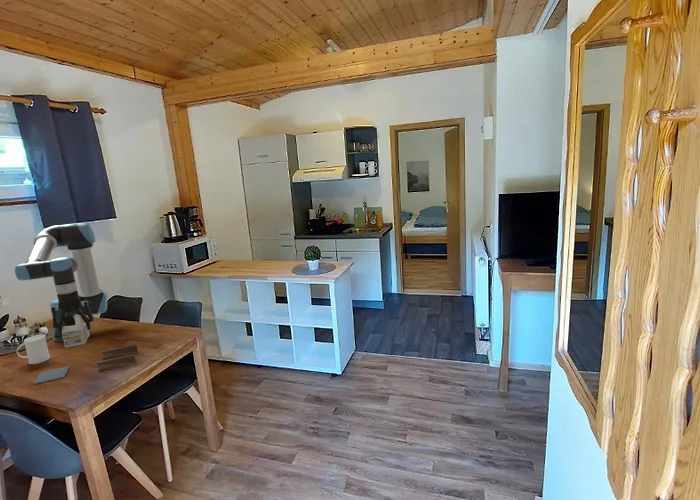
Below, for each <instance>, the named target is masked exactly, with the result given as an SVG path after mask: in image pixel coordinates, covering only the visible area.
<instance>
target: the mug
mask: <svg viewBox="0 0 700 500" xmlns="http://www.w3.org/2000/svg"><path fill="white" fill-rule="evenodd" d="M23 346H25V351H26V356H25V355H21V354H20V353H19V349H21V347H23ZM16 354H17V356H18V357H20V359H21V358H22V359H28V364H29V365H38V364H41V363H44V362H46V361H48V360H50V358H51V355H50V351H49V348H48V342H47V337H46V335H45V334H35V335H32V336H29V337H26V338H25V339H24V340H23V342H22V343H21V344H19V345H18V347H17V349H16Z"/></svg>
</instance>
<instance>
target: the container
mask: <svg viewBox="0 0 700 500" xmlns="http://www.w3.org/2000/svg"><path fill="white" fill-rule="evenodd" d="M63 322H64V327H65V328H64V329H63V331H62V336H63V340H64V342H63V344H64V348H69V347H75V346H79V345H85V344H86V342H87V341H88V338H89V337H87V336H86V332H85V327H84V324H85V322H83V319H82V318H81V316H80V315H78V314H73V315H69V316H66V317H65V318H64V319H63Z"/></svg>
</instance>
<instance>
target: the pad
mask: <svg viewBox="0 0 700 500" xmlns="http://www.w3.org/2000/svg"><path fill="white" fill-rule="evenodd" d="M70 367H71V366H70V365H67V366H65V367H59V368H53V369H50V370H46V371H45V370H44V371H41V372H40V373H39V375H38V376H37V377H36V379H35V381H34V382H33V386H34V385H38V384H39V385H40V384H44V383H47V382H52V381H57V380H61V379H64V378H65V377H66V375H67V374H68V372H69V369H70Z"/></svg>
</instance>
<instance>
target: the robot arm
mask: <svg viewBox="0 0 700 500" xmlns="http://www.w3.org/2000/svg"><path fill="white" fill-rule="evenodd" d="M94 243H96V237H95V233H94V230H93V228H92V227H91V225H90V224H89V223H84V222H82V223H81V222H80V223H79V222H76V223H68V224H66V223H65V224H61V225H60V224H59V225H52V226H49V227H47V228H45V229H43V230H41V231H40V232H39V233H37V235H35V237H34V239H33V247H32V249H31V251H30V253H29V256H28V257H27V259H26V261H25V263H20V264H17V265H15V268H14V274H15V278H16V279H17V280H18V281H23V282H24V281H31V280H38V279H46V278H53V282H54V287H55V291H56V294H57V295H56V297H57V298H56V299H54V300H52V301H51V302H50V311H51V317H52V328H53V329H54V330H53V338H52V339H53V342H56V343H61V342H62V343H64V340H63V336H62V331H63V329H64V328H65V327H64V322H63V319H64V318H65V317H66V316H69V315H73V314H78V315H80V316H81V319H82V322H83V323H85V324H84V327H85V332H86V336H87V337H88V338H89V337H90V335H91V334H90V330H91V328H92V327H91V322H94V318H95V317H94V315H99V314H102V313H106V311H107V309H108V294H107V292H104V291H103V289H102V288H100V287H99V283H98V278H97V273H96V268H95V263H94V260H93V259H94V258H93V254H92V250H91V249H92V248H93V247H94ZM59 247H66V248H67V250H68V251H70V252H71V255H72V257H71V256H70V257H68V256H65V257H58V258H57V257H56V258H53V259H51V260H49V259H50V256H51V255H52V251H54V250H55V249H56V248H59ZM75 272H76V274H77V275H76V276H77V280H78V285H79V289H80V292H78V290H77V289H78V285H77V283H76V278H75Z"/></svg>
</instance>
